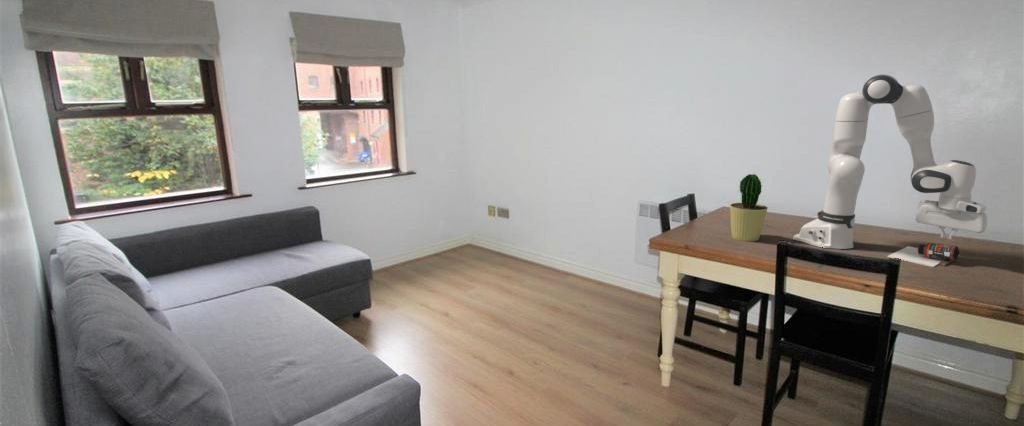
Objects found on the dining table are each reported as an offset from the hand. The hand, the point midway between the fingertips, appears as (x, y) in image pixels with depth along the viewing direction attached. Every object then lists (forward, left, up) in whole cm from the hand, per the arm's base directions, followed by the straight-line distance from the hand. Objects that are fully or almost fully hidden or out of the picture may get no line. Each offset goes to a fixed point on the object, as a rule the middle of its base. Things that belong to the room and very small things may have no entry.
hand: (946, 238), depth 185 cm
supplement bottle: (+4, -1, -5) cm, 6 cm away
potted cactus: (-62, -31, -9) cm, 70 cm away
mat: (-7, 0, -9) cm, 11 cm away
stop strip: (+2, 0, -9) cm, 9 cm away
